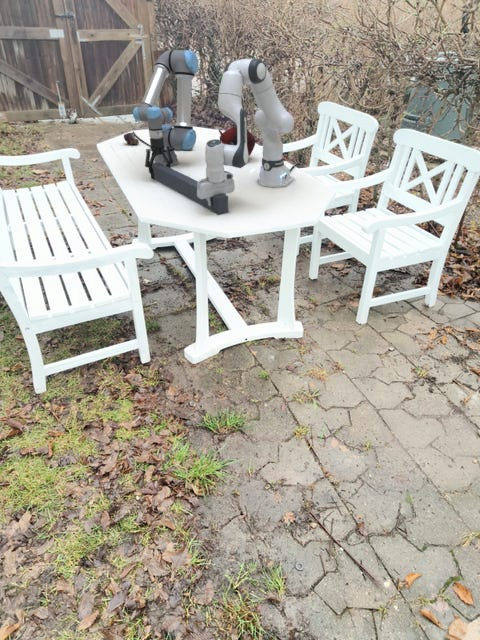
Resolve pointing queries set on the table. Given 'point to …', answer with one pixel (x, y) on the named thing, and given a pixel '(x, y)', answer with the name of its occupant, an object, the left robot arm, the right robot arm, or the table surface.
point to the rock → (131, 138)
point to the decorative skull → (231, 138)
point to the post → (188, 187)
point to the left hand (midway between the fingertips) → (160, 177)
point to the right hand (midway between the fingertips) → (216, 203)
